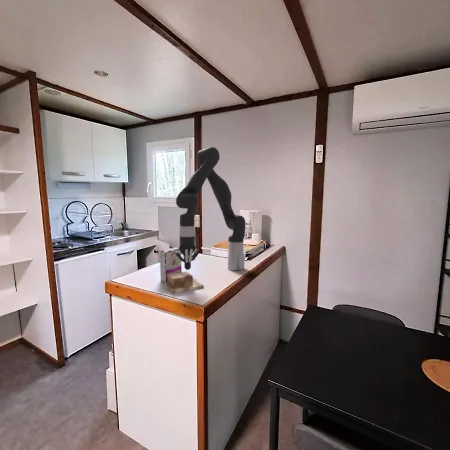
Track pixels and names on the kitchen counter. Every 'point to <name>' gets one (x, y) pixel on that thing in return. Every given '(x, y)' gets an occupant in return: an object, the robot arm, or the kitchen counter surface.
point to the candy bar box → (169, 263)
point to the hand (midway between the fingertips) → (187, 269)
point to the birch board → (195, 286)
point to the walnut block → (180, 280)
